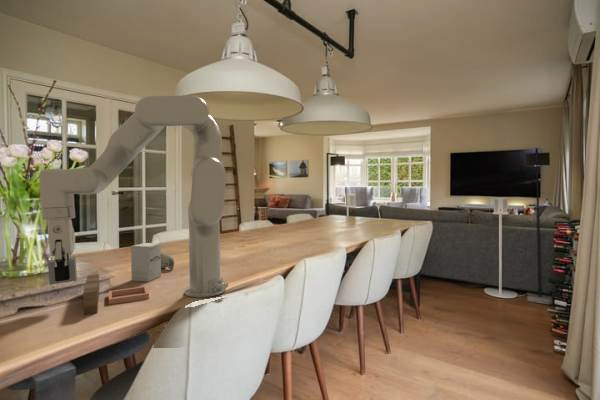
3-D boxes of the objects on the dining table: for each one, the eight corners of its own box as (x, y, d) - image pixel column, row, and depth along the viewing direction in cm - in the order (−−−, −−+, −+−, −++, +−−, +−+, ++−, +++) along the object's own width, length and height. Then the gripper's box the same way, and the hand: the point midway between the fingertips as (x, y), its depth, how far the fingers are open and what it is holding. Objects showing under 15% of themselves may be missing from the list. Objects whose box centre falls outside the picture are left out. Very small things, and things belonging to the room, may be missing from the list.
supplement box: (149, 281, 120) (148, 246, 119) (130, 280, 121) (130, 245, 120) (161, 276, 127) (161, 242, 126) (144, 275, 128) (143, 242, 128)
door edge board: (97, 312, 91) (96, 290, 90) (84, 315, 89) (83, 292, 89) (99, 292, 108) (98, 273, 108) (88, 293, 107) (87, 274, 106)
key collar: (146, 290, 110) (146, 286, 110) (149, 298, 102) (149, 293, 102) (108, 295, 104) (108, 291, 104) (108, 304, 97) (108, 299, 97)
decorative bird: (166, 272, 133) (166, 253, 132) (143, 267, 142) (143, 249, 141) (178, 269, 137) (178, 251, 137) (155, 264, 146) (154, 247, 146)
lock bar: (77, 277, 98) (75, 257, 98) (75, 280, 95) (74, 259, 94) (51, 281, 95) (50, 260, 95) (49, 284, 92) (47, 262, 91)
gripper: (72, 214, 88) (77, 283, 89) (77, 210, 103) (81, 269, 104) (36, 217, 85) (41, 288, 86) (46, 212, 99) (51, 273, 100)
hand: (63, 277), depth 95 cm, fingers closed on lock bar, 4 cm apart
